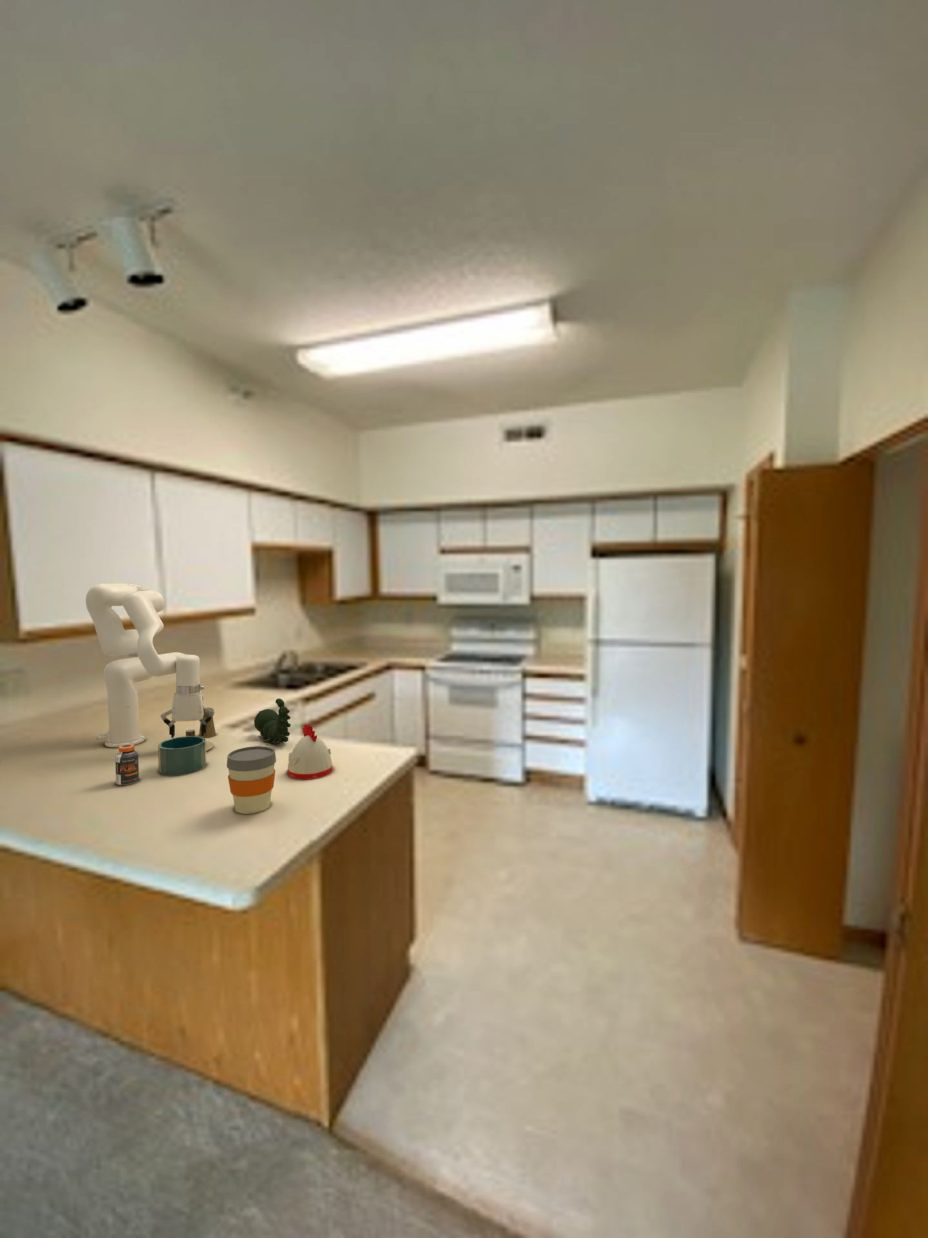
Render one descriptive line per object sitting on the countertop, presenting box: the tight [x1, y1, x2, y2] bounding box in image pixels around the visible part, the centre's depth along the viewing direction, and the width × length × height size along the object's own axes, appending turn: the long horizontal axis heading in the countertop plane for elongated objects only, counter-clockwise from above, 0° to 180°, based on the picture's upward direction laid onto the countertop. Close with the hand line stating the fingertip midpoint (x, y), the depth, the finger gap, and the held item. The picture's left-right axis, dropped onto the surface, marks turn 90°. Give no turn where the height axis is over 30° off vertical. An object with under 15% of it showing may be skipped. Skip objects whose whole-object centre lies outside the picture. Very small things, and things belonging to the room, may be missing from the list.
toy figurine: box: [253, 698, 292, 745], centre depth 202 cm, size 9×19×25 cm
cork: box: [198, 707, 217, 739], centre depth 207 cm, size 6×6×11 cm
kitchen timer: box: [287, 724, 333, 780], centre depth 170 cm, size 14×14×15 cm
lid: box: [185, 729, 214, 752], centre depth 190 cm, size 15×15×7 cm
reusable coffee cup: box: [226, 745, 277, 815], centre depth 144 cm, size 13×13×15 cm
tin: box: [157, 735, 207, 776], centre depth 172 cm, size 14×14×8 cm
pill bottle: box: [114, 744, 140, 786], centre depth 160 cm, size 6×6×11 cm
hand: (188, 735), depth 190 cm, fingers open, 9 cm apart
